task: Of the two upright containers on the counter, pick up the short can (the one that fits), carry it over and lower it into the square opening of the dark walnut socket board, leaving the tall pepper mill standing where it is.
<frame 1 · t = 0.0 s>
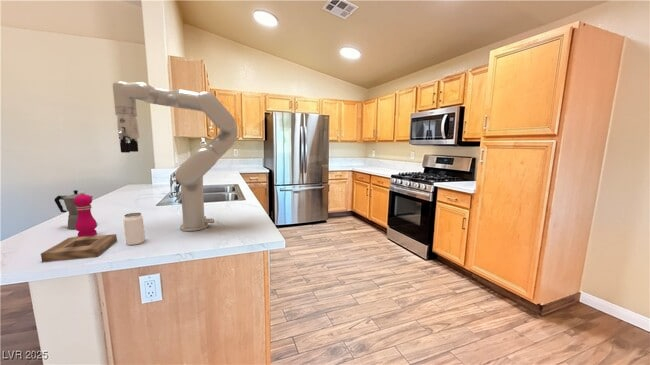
hand: (130, 152, 118), 37 cm above the counter, tool pointing down, fingers open, 9 cm apart
socket board: (83, 250, 102), on the counter
coffeepot: (77, 227, 130), on the counter
pepper mill: (87, 236, 118), on the counter
can: (135, 242, 111), on the counter
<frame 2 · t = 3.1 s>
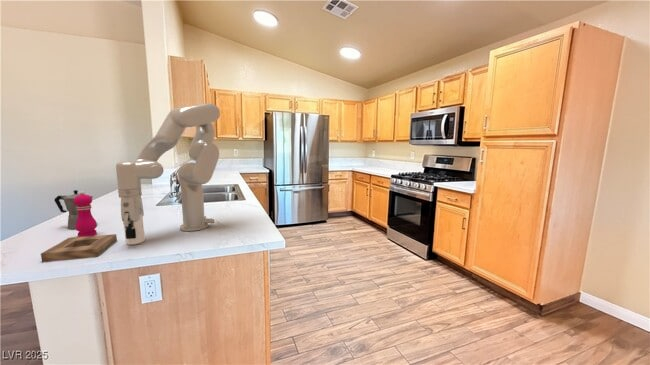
hand: (134, 235, 110), 3 cm above the counter, tool pointing down, fingers closed on can, 5 cm apart
can: (135, 242, 111), on the counter, touching gripper
everything else where it was.
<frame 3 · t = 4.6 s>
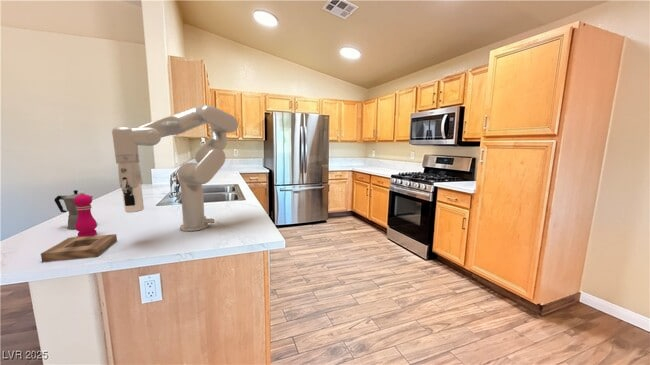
hand: (133, 203, 109), 17 cm above the counter, tool pointing down, fingers closed on can, 5 cm apart
can: (134, 211, 110), point 13 cm above the counter, touching gripper
everything else where it was.
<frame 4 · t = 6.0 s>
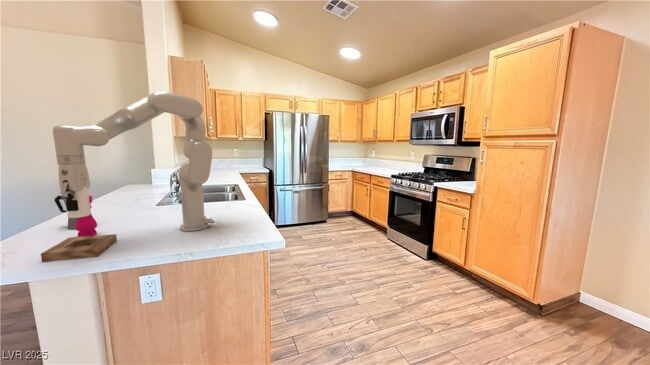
hand: (77, 208, 100), 17 cm above the counter, tool pointing down, fingers closed on can, 5 cm apart
can: (79, 216, 101), point 13 cm above the counter, touching gripper
everything else where it was.
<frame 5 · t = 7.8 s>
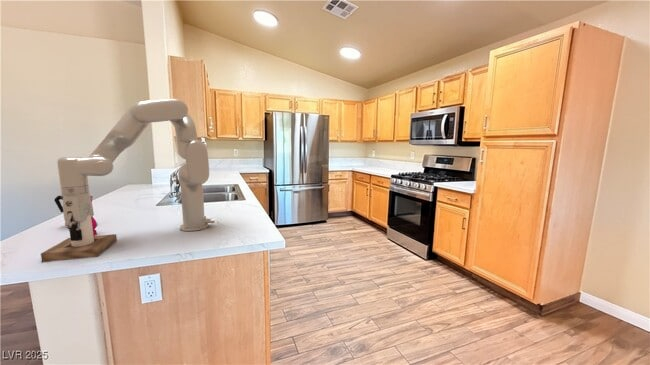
hand: (81, 237, 101), 5 cm above the counter, tool pointing down, fingers closed on can, 5 cm apart
can: (83, 244, 102), point 2 cm above the counter, touching gripper
everything else where it was.
when the fingers open (4 cm above the counter, at t = 8.9 s): can drops 1 cm, resting in socket board.
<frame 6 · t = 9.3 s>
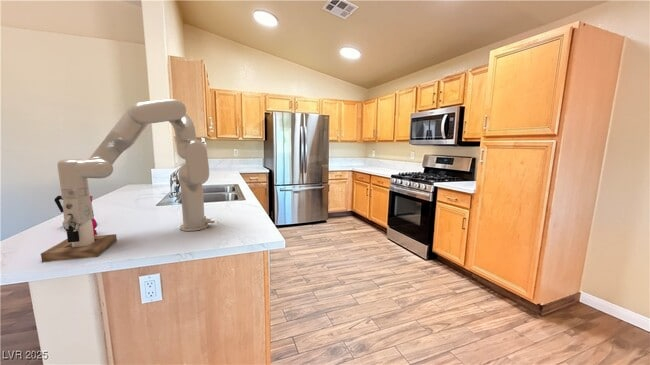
hand: (81, 237, 101), 5 cm above the counter, tool pointing down, fingers open, 9 cm apart
can: (84, 250, 103), resting in socket board
everything else where it was.
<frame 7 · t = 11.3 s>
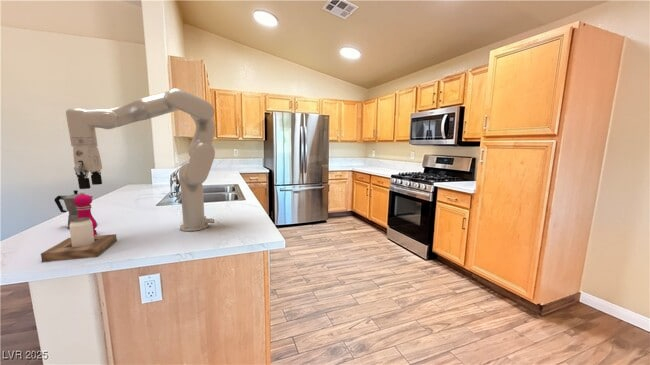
hand: (91, 186, 105), 24 cm above the counter, tool pointing down, fingers open, 9 cm apart
nothing on the counter moved.
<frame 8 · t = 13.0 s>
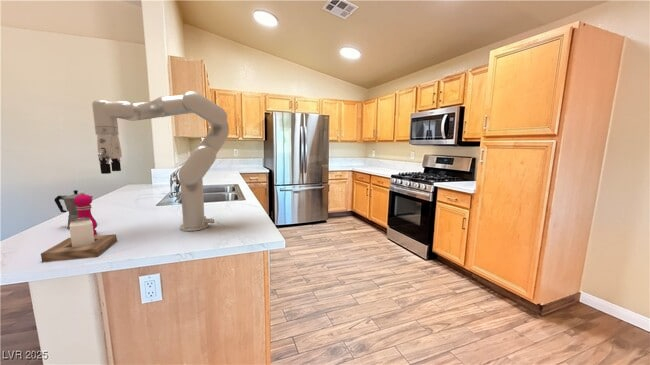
hand: (111, 172, 114), 28 cm above the counter, tool pointing down, fingers open, 9 cm apart
nothing on the counter moved.
at the end: can 0.5 cm off-centre on the socket board, point 0.0 cm above the socket board's base; can tilted 0°; the gripper is holding nothing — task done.
